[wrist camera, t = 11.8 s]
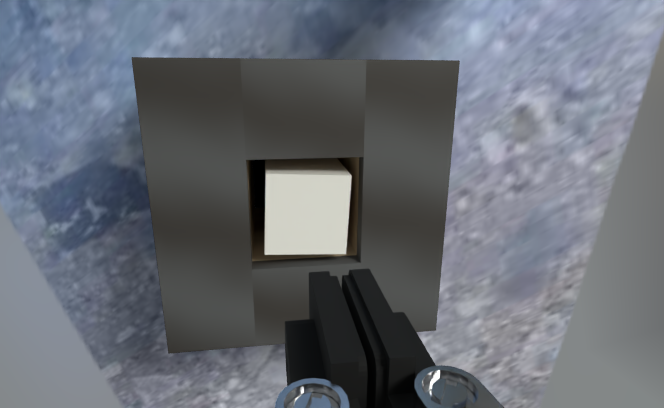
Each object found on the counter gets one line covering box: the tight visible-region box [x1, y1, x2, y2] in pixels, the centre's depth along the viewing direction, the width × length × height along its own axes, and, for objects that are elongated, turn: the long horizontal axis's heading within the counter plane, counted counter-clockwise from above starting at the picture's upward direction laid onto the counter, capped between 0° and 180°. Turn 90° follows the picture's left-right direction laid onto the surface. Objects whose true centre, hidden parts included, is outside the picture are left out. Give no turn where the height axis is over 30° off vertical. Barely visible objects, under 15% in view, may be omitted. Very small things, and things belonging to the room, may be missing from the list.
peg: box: [264, 158, 352, 255], centre depth 25 cm, size 4×4×10 cm
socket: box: [132, 57, 460, 353], centre depth 25 cm, size 14×14×10 cm
